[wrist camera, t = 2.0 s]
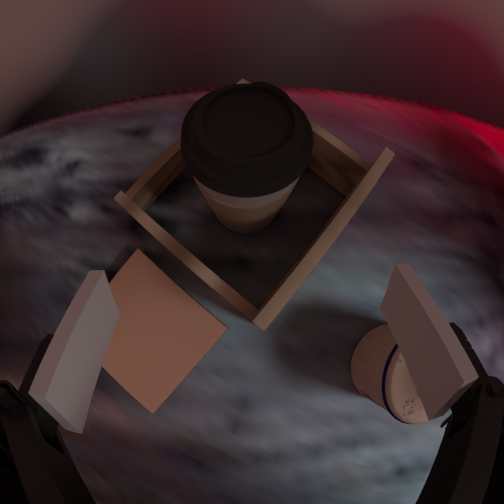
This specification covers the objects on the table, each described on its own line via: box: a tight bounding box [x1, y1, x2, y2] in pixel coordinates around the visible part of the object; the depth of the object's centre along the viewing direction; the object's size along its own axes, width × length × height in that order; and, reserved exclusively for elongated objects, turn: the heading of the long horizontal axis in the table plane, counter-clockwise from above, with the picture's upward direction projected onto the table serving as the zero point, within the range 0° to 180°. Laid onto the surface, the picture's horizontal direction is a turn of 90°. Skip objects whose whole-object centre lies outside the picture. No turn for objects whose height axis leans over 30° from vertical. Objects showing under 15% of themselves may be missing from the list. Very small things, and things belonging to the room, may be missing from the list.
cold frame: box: [114, 79, 395, 331], centre depth 26 cm, size 18×18×10 cm
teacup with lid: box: [351, 324, 432, 424], centre depth 22 cm, size 12×9×12 cm
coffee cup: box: [180, 82, 314, 234], centre depth 24 cm, size 9×9×15 cm
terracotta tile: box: [102, 249, 228, 414], centre depth 27 cm, size 12×12×2 cm
